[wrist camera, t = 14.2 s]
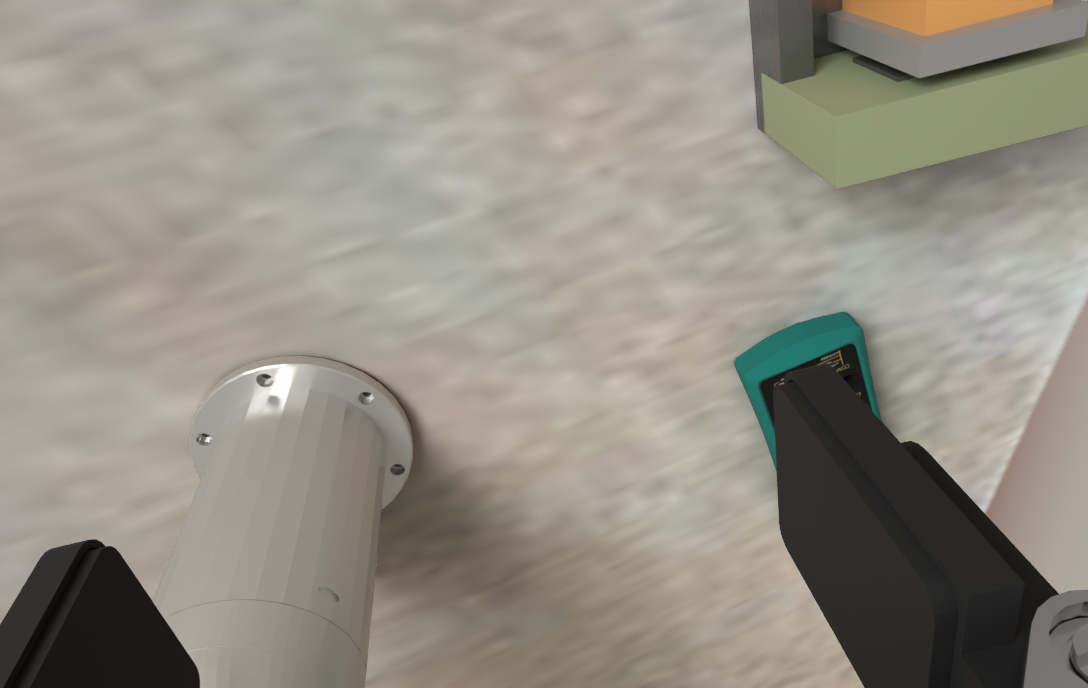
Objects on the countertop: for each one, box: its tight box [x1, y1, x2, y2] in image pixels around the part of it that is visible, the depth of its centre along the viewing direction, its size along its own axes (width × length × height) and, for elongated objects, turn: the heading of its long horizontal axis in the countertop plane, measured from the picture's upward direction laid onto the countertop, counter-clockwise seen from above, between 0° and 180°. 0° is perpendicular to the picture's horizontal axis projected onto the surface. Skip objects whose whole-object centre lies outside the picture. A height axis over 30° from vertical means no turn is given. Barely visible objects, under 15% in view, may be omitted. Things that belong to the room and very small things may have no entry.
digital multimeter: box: [734, 312, 882, 471], centre depth 48 cm, size 7×15×3 cm, turn 24°
